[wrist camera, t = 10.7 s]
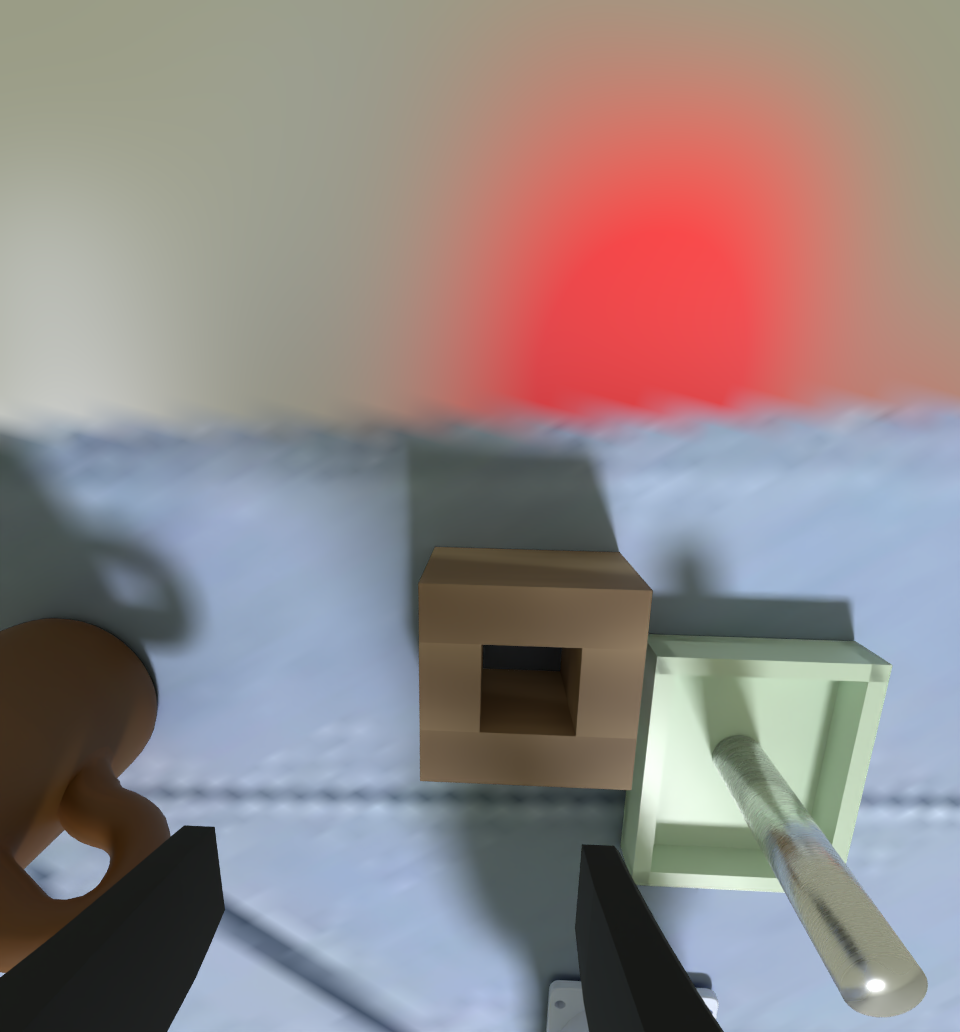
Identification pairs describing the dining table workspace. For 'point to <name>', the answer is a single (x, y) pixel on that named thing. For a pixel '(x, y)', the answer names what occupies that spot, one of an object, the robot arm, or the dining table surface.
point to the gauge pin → (821, 887)
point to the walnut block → (531, 693)
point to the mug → (68, 767)
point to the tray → (754, 713)
